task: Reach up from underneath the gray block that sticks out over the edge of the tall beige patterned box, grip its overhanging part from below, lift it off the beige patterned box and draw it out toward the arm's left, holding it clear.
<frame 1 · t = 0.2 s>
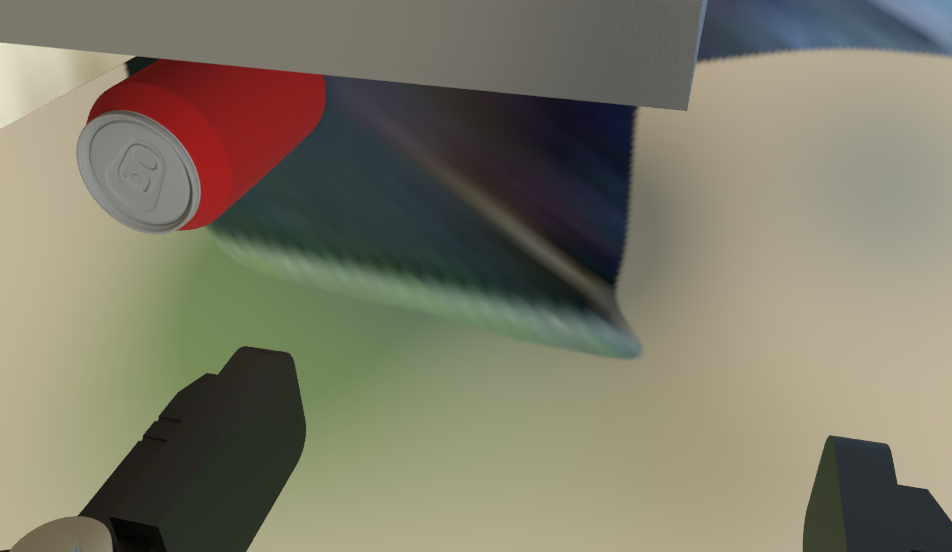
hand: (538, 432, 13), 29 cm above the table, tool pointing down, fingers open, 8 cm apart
beverage can: (274, 75, 44), on the table
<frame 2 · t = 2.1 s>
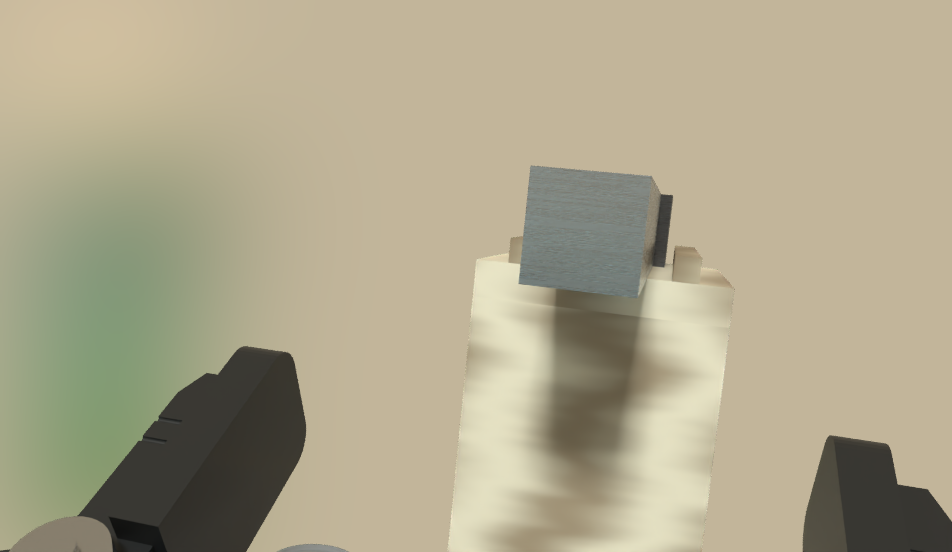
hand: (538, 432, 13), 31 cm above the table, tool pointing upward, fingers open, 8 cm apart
gray block: (606, 269, 36), point 32 cm above the table, touching beige patterned box
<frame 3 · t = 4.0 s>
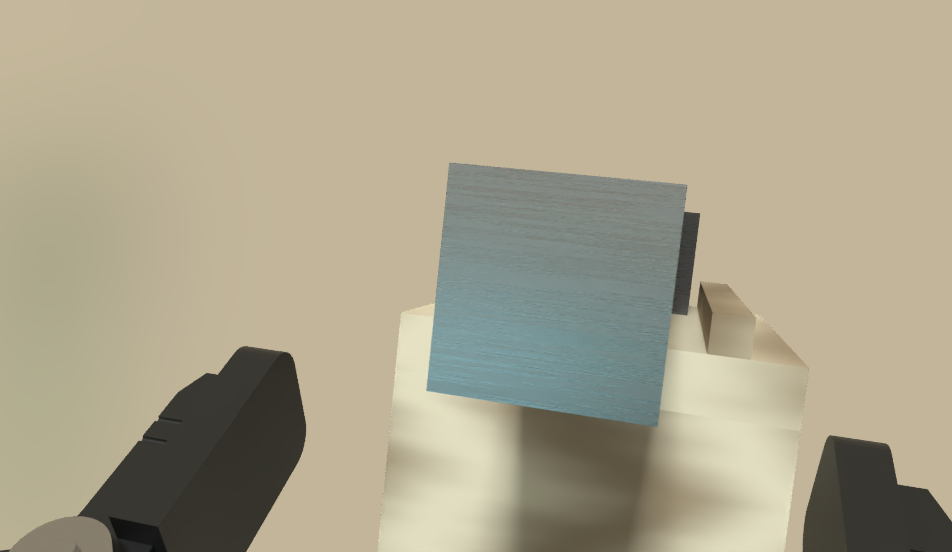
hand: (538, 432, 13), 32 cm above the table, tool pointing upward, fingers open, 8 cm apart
gray block: (603, 327, 23), point 32 cm above the table, touching beige patterned box
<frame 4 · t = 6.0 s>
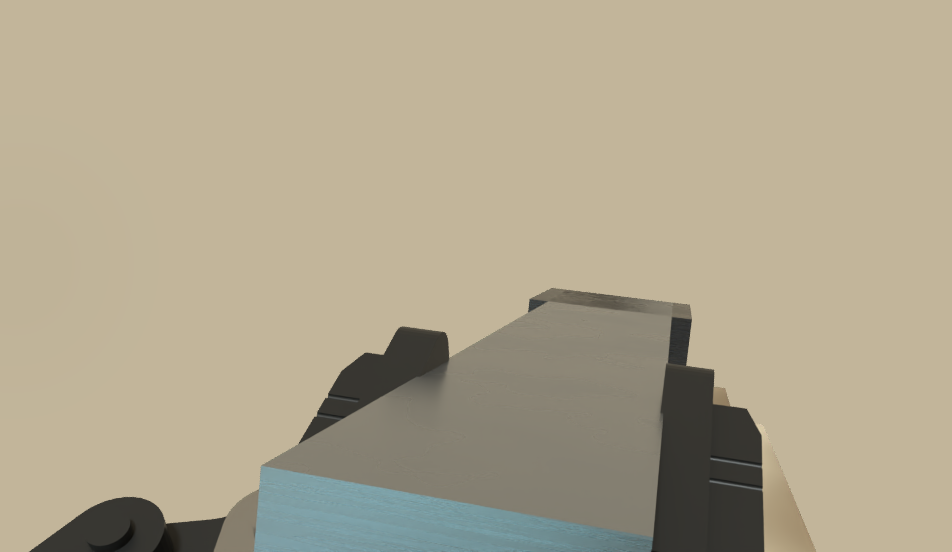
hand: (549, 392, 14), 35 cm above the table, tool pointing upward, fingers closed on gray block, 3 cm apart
gray block: (566, 498, 18), point 32 cm above the table, touching gripper, beige patterned box
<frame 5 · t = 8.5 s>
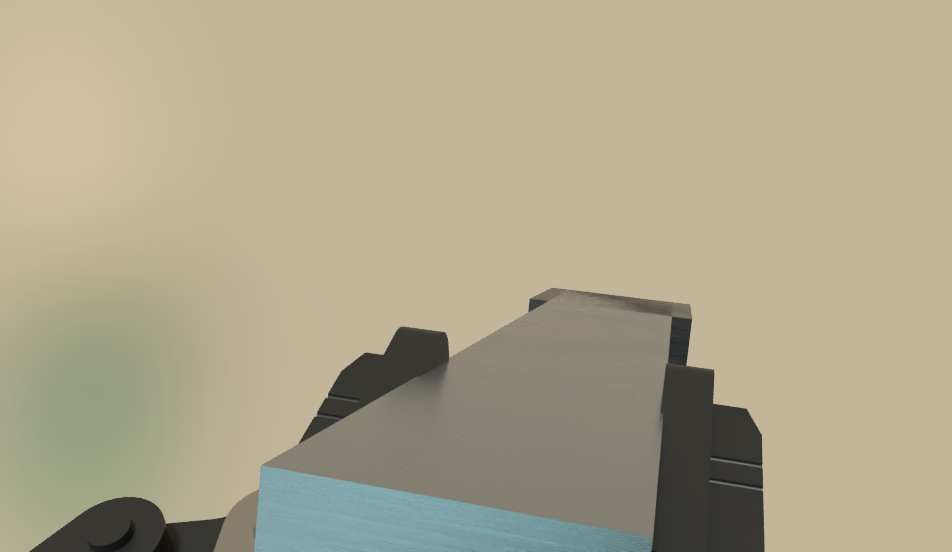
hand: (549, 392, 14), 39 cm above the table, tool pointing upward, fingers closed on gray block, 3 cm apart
gray block: (566, 498, 18), point 36 cm above the table, touching gripper
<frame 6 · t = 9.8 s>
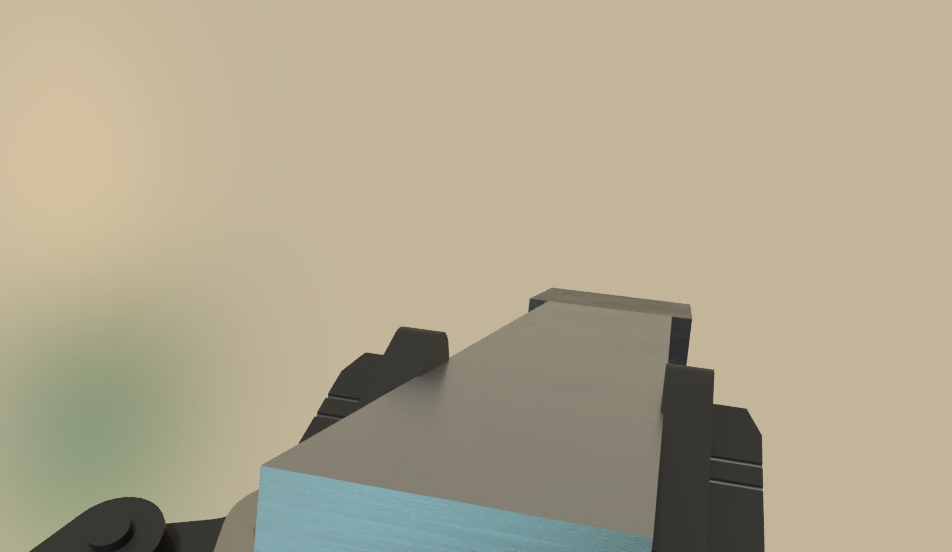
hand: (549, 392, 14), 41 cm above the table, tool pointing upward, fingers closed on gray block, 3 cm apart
gray block: (566, 498, 18), point 38 cm above the table, touching gripper
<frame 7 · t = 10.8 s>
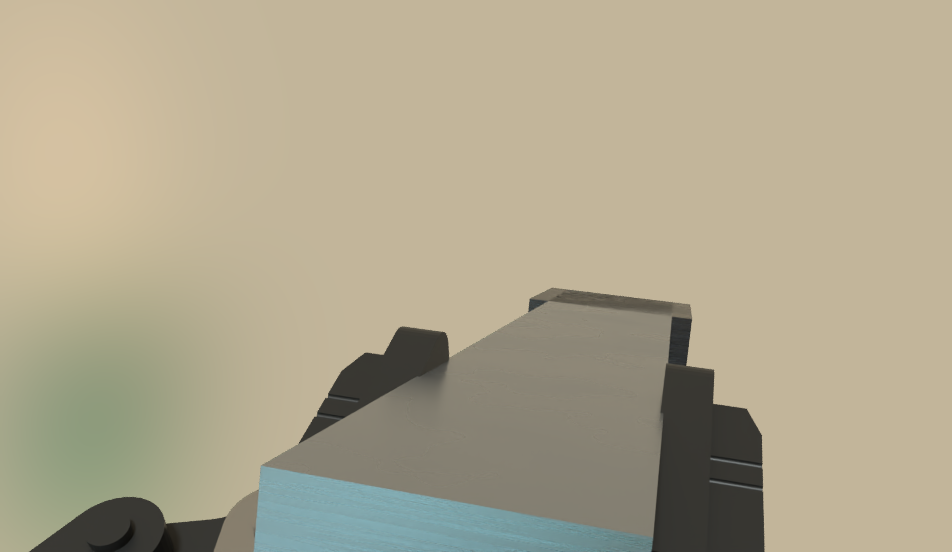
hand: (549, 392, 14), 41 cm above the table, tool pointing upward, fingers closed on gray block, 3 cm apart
gray block: (566, 498, 18), point 38 cm above the table, touching gripper
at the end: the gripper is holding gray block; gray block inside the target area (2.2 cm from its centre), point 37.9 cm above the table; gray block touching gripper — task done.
